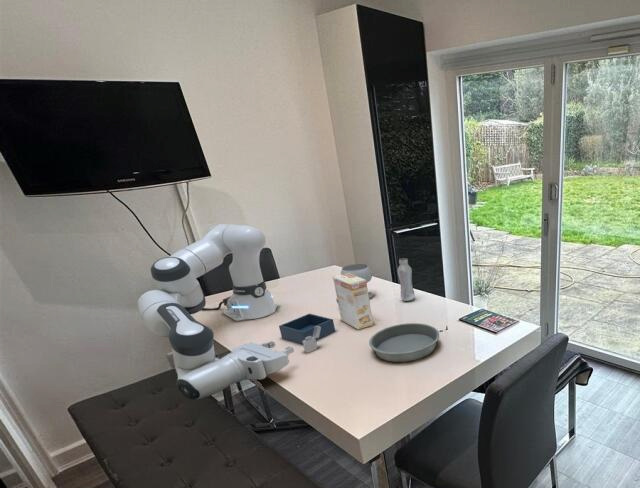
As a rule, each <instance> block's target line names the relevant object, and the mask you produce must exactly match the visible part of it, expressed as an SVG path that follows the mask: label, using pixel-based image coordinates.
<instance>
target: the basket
mask: <svg viewBox="0 0 640 488" xmlns="http://www.w3.org/2000/svg"><path fill="white" fill-rule="evenodd" d="M315 326H320V327H321V330H320V335H319V338H315V339H316V341H318V340H321V339H322V338H324V337H326V336H329V335H331V334H333V333H335V332H336V327H335V322H334V318H331V317H330V318H329V317H325V316H321V315H318V314H314V313H307V314H304V315H302V316H299V317H298V318H297V317H296V318H295V319H293V320H290V321H288V322H285V323H282V324H280V325H278V329H279V332H280V337H281V339H284V340H285V341H286V340H287V341H290V342H293V343H296V344H299V345H303V342H302V341H304V340H305V338H306V337H308V336H312V337H313V333H314V328H315Z"/></svg>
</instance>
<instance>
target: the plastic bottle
mask: <svg viewBox="0 0 640 488" xmlns="http://www.w3.org/2000/svg"><path fill="white" fill-rule="evenodd" d="M398 264H399V266H398V267H397V270H396V272H397V275H398V279H399V284H400V298H401V300H402V301H403V302H410V301H413V300H414V299H415V298H416V297H415V296H416V294H415V290H414V287H413V279H412V278H413V277H412V276H413V275H412V274H413V271H412V270H413V269H412V267H411V266H410V265H409V261H408V258H407V257H406V258H405V257H401V258H399V260H398Z"/></svg>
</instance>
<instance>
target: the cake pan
mask: <svg viewBox="0 0 640 488" xmlns="http://www.w3.org/2000/svg"><path fill="white" fill-rule="evenodd" d="M439 338H440V332H439V330H438V329H437V328H436V327H434V326H432V325H429V324H425V323H418V322H411V323H410V322H409V323H408V322H407V323H399V324H395V325H390V326H387V327H385V328H383V329H381V330H379V331H377V332H376V333H374V334H372V336H371V337H370V339H369V341H368V342H369V346H370V349H372V350H374V352H375V353H376V355H377V357H378V358H380V359H381V360H383V361H388V362H393V363H394V362H395V363H403V362H412V361H416V360H419V359H422V358H424V357H426V356H428V355H430V354H431V353H432V352H433V351H435V349H436V347H437V341H438V340H439Z"/></svg>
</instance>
